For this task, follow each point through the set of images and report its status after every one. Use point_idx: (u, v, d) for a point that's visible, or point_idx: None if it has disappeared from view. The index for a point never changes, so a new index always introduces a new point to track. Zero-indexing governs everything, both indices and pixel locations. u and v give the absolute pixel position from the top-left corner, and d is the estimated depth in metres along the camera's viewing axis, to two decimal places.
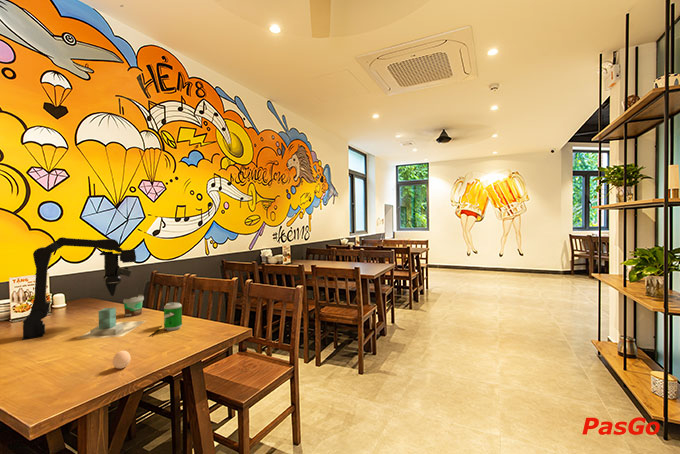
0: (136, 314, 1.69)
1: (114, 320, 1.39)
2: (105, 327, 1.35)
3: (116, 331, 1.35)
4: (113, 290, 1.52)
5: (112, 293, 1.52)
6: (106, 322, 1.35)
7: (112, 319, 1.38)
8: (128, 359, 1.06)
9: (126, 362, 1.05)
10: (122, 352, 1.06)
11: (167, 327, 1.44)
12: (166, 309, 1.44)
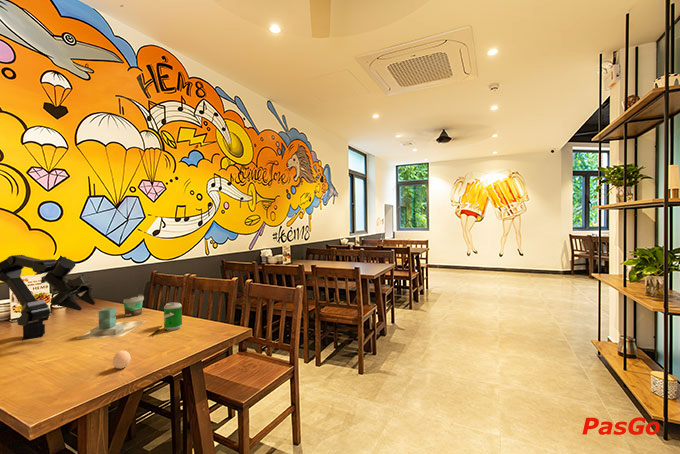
0: (136, 314, 1.69)
1: (114, 320, 1.39)
2: (105, 327, 1.35)
3: (116, 331, 1.35)
4: (74, 305, 1.31)
5: (78, 308, 1.32)
6: (106, 322, 1.35)
7: (112, 319, 1.38)
8: (128, 359, 1.06)
9: (126, 362, 1.05)
10: (122, 352, 1.06)
11: (167, 327, 1.44)
12: (166, 309, 1.44)
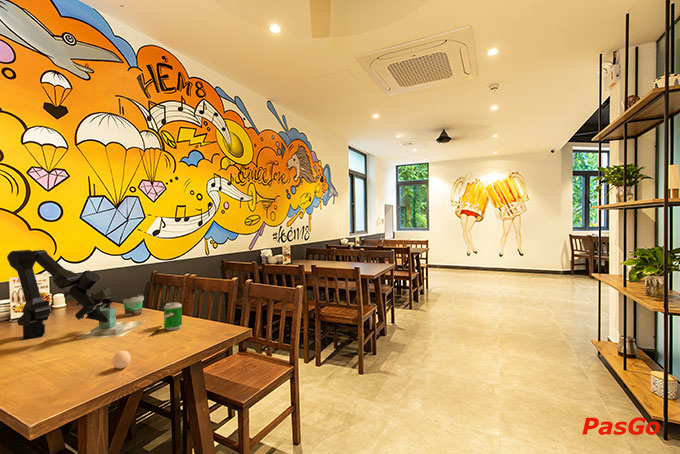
0: (136, 314, 1.69)
1: (114, 320, 1.39)
2: (105, 327, 1.35)
3: (116, 331, 1.35)
4: (101, 317, 1.34)
5: (105, 320, 1.35)
6: None
7: (112, 319, 1.38)
8: (128, 359, 1.06)
9: (126, 362, 1.05)
10: (122, 352, 1.06)
11: (167, 327, 1.44)
12: (166, 309, 1.44)
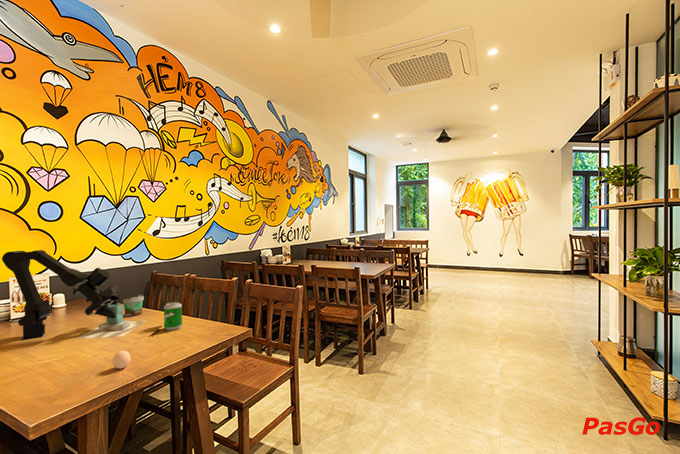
0: (136, 314, 1.69)
1: (121, 316, 1.45)
2: (113, 323, 1.41)
3: (123, 327, 1.41)
4: (109, 313, 1.40)
5: (112, 316, 1.41)
6: (114, 318, 1.41)
7: (119, 315, 1.43)
8: (128, 359, 1.06)
9: (126, 362, 1.05)
10: (122, 352, 1.06)
11: (167, 327, 1.44)
12: (166, 309, 1.44)
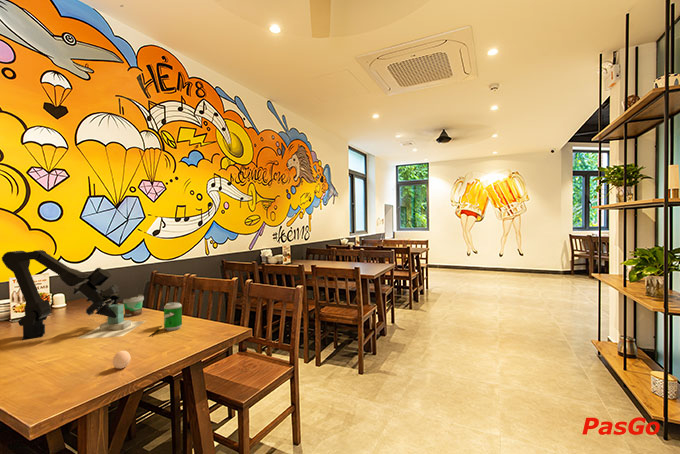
0: (136, 314, 1.69)
1: (122, 316, 1.46)
2: (113, 322, 1.42)
3: (124, 327, 1.42)
4: (110, 313, 1.41)
5: (113, 315, 1.41)
6: None
7: (120, 314, 1.44)
8: (128, 359, 1.06)
9: (126, 362, 1.05)
10: (122, 352, 1.06)
11: (167, 327, 1.44)
12: (166, 309, 1.44)
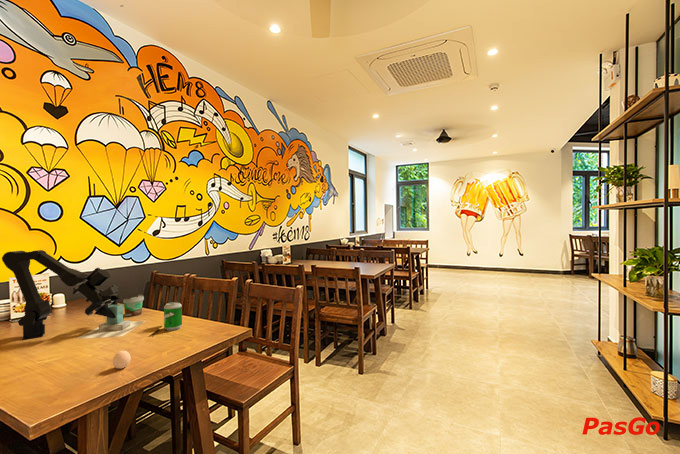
0: (136, 314, 1.69)
1: (121, 316, 1.45)
2: (113, 323, 1.41)
3: (123, 327, 1.41)
4: (109, 313, 1.40)
5: (112, 316, 1.41)
6: (114, 318, 1.41)
7: (119, 315, 1.43)
8: (128, 359, 1.06)
9: (126, 362, 1.05)
10: (122, 352, 1.06)
11: (167, 327, 1.44)
12: (166, 309, 1.44)
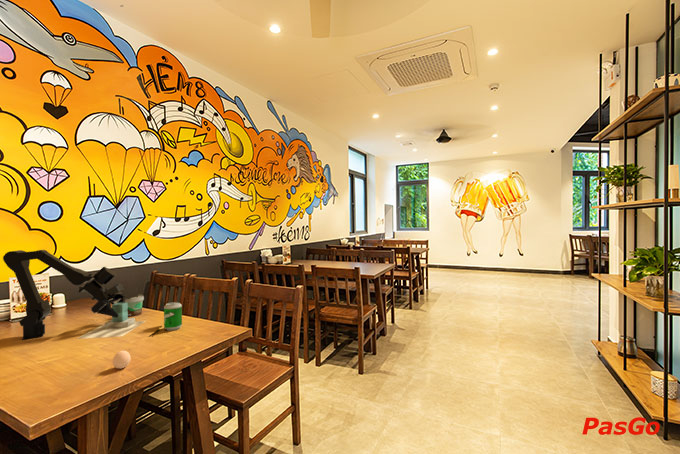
0: (136, 314, 1.69)
1: (126, 314, 1.49)
2: (118, 320, 1.45)
3: (128, 324, 1.45)
4: (112, 312, 1.42)
5: (115, 315, 1.42)
6: (119, 315, 1.45)
7: (124, 312, 1.47)
8: (128, 359, 1.06)
9: (126, 362, 1.05)
10: (122, 352, 1.06)
11: (167, 327, 1.44)
12: (166, 309, 1.44)
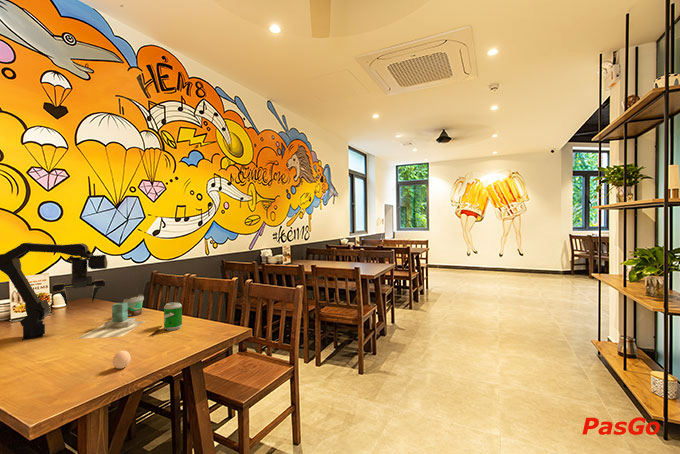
0: (136, 314, 1.69)
1: (126, 314, 1.49)
2: (118, 320, 1.45)
3: (128, 324, 1.45)
4: None
5: (65, 302, 1.42)
6: (119, 315, 1.45)
7: (124, 312, 1.47)
8: (128, 359, 1.06)
9: (126, 362, 1.05)
10: (122, 352, 1.06)
11: (167, 327, 1.44)
12: (166, 309, 1.44)
